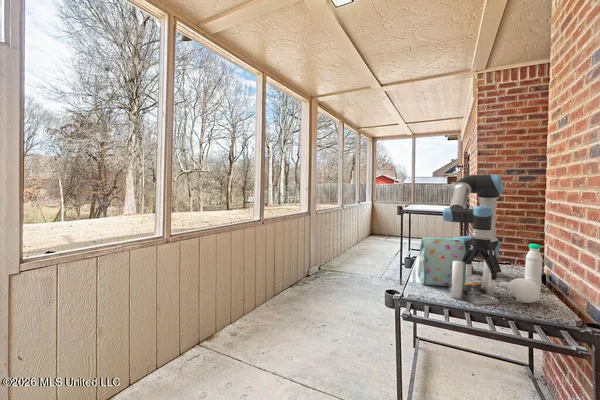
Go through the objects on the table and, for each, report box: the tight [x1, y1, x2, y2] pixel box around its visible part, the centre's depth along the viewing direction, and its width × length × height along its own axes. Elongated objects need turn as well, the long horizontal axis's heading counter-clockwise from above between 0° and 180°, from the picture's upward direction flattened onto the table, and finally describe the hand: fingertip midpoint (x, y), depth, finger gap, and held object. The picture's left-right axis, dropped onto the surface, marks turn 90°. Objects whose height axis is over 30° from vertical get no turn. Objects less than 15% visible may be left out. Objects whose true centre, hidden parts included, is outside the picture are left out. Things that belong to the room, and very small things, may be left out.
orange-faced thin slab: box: [464, 282, 482, 292], centre depth 137 cm, size 1×9×4 cm, turn 101°
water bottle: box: [524, 243, 544, 292], centre depth 149 cm, size 7×7×25 cm
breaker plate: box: [448, 287, 500, 306], centre depth 137 cm, size 18×12×4 cm, turn 11°
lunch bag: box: [417, 236, 467, 288], centre depth 156 cm, size 23×16×27 cm
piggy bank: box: [499, 277, 542, 304], centre depth 133 cm, size 12×12×15 cm
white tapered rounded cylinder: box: [449, 261, 464, 301], centre depth 135 cm, size 5×5×18 cm
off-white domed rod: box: [481, 259, 495, 298], centre depth 138 cm, size 5×5×18 cm
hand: (479, 281), depth 133 cm, fingers open, 13 cm apart
